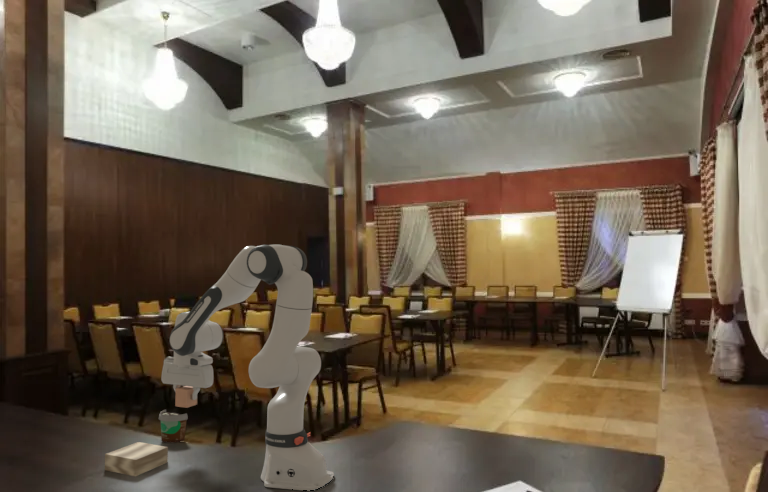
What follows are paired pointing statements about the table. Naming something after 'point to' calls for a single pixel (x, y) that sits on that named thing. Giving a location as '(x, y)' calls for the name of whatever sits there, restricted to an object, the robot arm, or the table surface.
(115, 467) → the birch plinth
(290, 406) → the robot arm
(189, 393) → the terracotta block
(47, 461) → the table surface
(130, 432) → the table surface
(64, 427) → the table surface
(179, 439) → the food container
